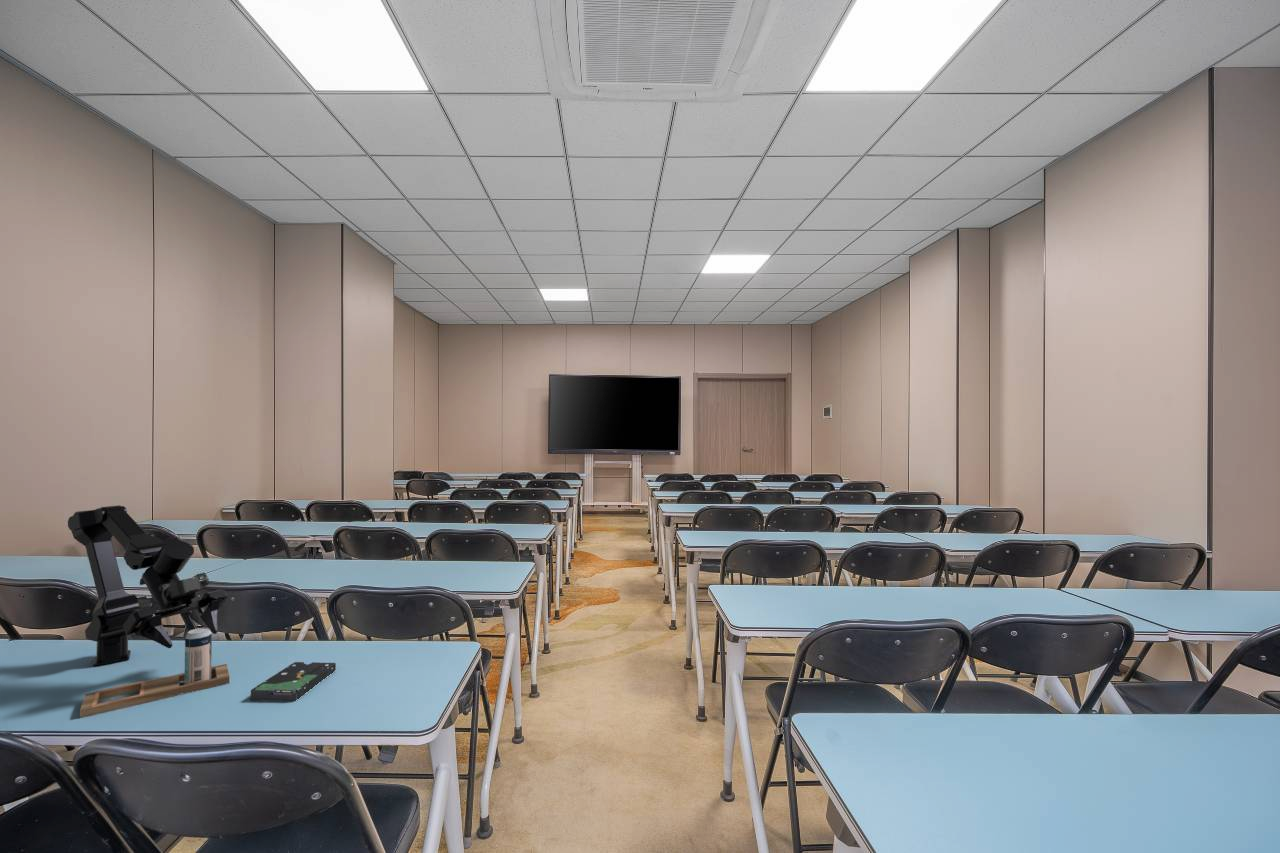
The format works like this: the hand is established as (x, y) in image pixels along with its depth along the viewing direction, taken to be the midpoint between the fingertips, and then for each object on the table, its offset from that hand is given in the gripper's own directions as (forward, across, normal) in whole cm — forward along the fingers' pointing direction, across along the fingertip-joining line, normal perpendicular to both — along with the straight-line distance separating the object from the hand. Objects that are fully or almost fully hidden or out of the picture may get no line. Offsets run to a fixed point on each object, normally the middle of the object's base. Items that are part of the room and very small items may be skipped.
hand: (194, 639), depth 126 cm
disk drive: (+24, +8, -8) cm, 26 cm away
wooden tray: (+6, -6, +8) cm, 11 cm away
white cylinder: (+8, 0, +6) cm, 10 cm away
